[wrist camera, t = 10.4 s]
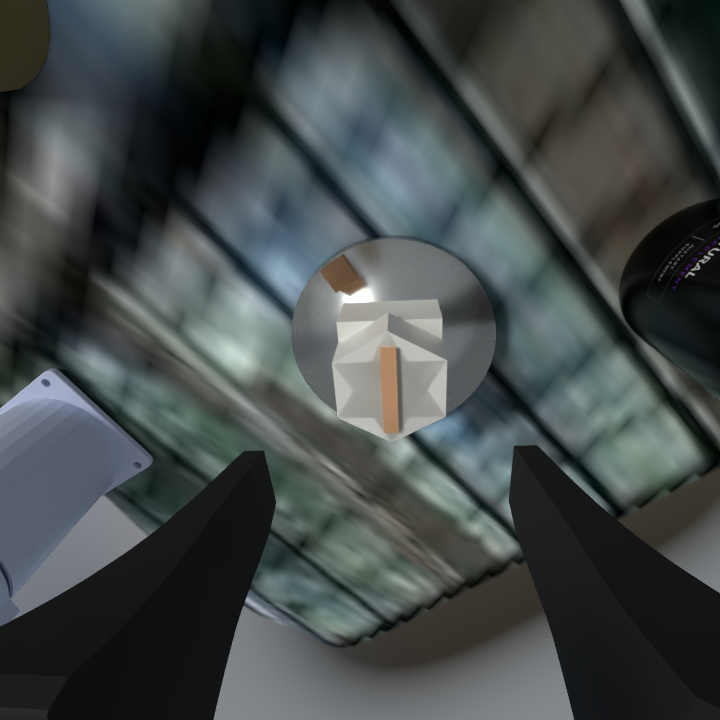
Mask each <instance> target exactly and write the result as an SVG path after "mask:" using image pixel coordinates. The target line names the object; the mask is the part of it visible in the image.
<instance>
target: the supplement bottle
mask: <svg viewBox="0 0 720 720" xmlns="http://www.w3.org/2000/svg"><path fill="white" fill-rule="evenodd" d="M619 302H620V307H621V311H622V314H623V316H624V318H625V320H626V322H627V324H628V325H629V326H630V327H631V329H632V330H633V331H634V332H635V333H636V334H637V335H638V336H639V337H640V338H642V339H643V340H644V341H645V342H646V343H647V344H649V345H650V346H651V347H652V348H654V349H655V350H656V351H657V352H658V353H660V354H661V355H662V356H663V357H665V358H666V359H667V360H668V361H670V362H671V363H672V364H673V365H675V366H676V367H677V368H678V369H680V370H681V371H682V372H683V373H684V374H686V375H687V376H688V377H689V378H691V379H692V380H693V381H694V382H696V383H697V384H698V385H699V386H701V387H702V388H703V389H704V390H706V391H707V392H708V393H709V394H711V395H712V396H713V397H714V398H715V399H717V400H718V401H719V402H720V198H719V199H713V200H708V201H705V202H701V203H698V204H695V205H692V206H690V207H687V208H685V209H683V210H681V211H679V212H677V213H675V214H673V215H672V216H670V217H669V218H667V219H666V220H664V221H663V222H661V223H660V224H659V225H657V226H656V227H655V228H654V229H653V230H652V231H650V232H649V233H648V234H647V235H646V236H645V237H644V238H643V240H642V241H641V242H640V243H639V244H638V246H637V247H636V248H635V250H634V251H633V253H632V254H631V256H630V258H629V259H628V262H627V264H626V266H625V268H624V271H623V273H622V277H621V281H620V287H619Z"/></svg>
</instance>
